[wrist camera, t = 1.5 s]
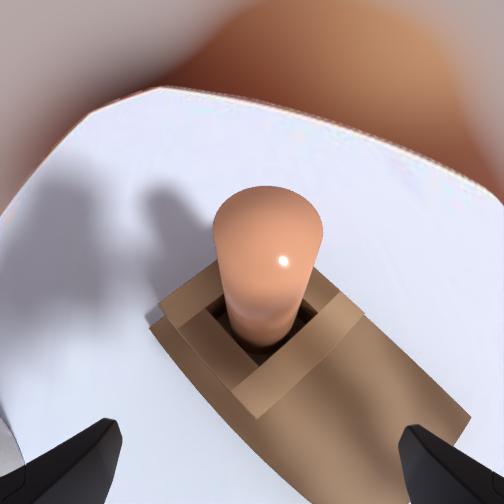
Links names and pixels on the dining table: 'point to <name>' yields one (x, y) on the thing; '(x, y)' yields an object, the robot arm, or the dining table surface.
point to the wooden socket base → (310, 390)
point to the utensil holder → (8, 451)
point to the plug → (265, 262)
